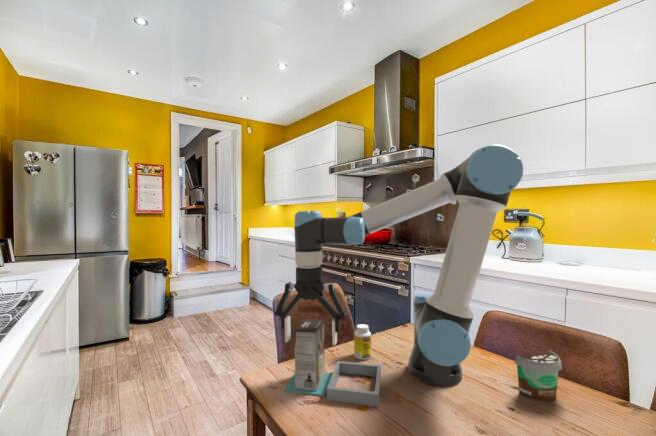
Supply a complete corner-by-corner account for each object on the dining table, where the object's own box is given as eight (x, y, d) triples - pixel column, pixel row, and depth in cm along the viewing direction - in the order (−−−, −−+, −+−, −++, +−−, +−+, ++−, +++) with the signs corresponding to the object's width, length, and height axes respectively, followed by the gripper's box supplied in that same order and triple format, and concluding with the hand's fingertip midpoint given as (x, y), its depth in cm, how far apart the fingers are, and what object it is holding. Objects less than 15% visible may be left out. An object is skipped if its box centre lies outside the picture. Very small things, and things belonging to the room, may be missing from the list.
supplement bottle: (363, 362, 97) (363, 330, 97) (350, 356, 101) (350, 326, 101) (374, 356, 101) (374, 325, 101) (361, 351, 105) (361, 321, 105)
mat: (332, 374, 89) (332, 373, 89) (324, 396, 79) (324, 394, 79) (296, 371, 92) (296, 369, 92) (284, 391, 81) (284, 389, 81)
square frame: (381, 375, 89) (381, 365, 89) (378, 406, 74) (378, 394, 74) (337, 370, 92) (337, 361, 92) (326, 400, 77) (326, 388, 77)
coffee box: (304, 371, 90) (304, 318, 90) (325, 374, 89) (324, 319, 89) (294, 389, 81) (294, 329, 81) (317, 391, 80) (317, 331, 80)
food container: (536, 408, 74) (536, 366, 73) (514, 393, 79) (514, 355, 79) (574, 399, 77) (574, 360, 77) (550, 386, 83) (550, 349, 83)
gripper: (354, 264, 86) (356, 339, 86) (272, 263, 91) (274, 334, 91) (351, 268, 79) (353, 350, 79) (261, 267, 84) (263, 344, 84)
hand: (311, 341), depth 85 cm, fingers open, 13 cm apart
